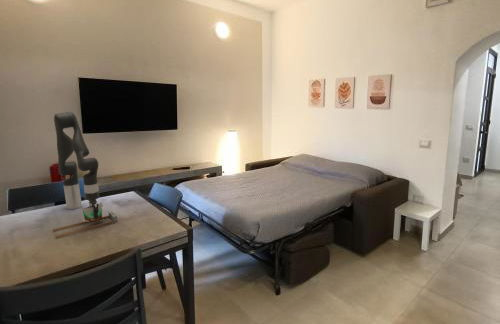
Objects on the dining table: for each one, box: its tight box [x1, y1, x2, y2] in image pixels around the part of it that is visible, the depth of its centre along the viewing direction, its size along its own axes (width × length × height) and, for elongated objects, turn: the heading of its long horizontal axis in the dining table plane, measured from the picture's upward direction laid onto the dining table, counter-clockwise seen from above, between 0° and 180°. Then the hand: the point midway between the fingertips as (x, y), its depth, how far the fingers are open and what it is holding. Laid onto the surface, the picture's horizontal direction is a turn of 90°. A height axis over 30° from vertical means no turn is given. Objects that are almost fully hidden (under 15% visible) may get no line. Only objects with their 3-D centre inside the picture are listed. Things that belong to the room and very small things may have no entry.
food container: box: [80, 202, 104, 224], centre depth 173 cm, size 12×6×10 cm, turn 142°
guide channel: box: [52, 211, 118, 239], centre depth 172 cm, size 11×32×4 cm, turn 131°
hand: (95, 216), depth 174 cm, fingers closed on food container, 5 cm apart
